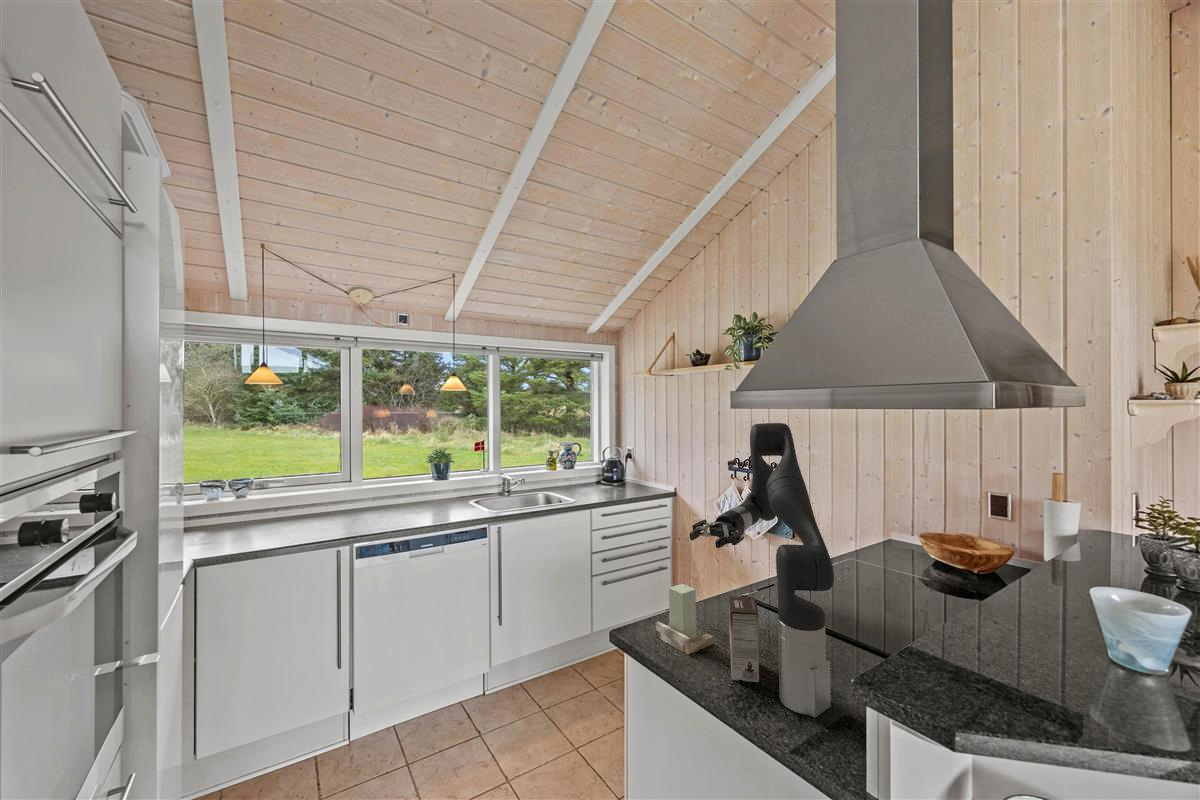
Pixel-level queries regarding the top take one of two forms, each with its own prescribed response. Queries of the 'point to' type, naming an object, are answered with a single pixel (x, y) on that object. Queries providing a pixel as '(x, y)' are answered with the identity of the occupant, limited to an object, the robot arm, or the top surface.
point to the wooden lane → (682, 639)
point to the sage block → (683, 610)
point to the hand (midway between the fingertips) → (703, 540)
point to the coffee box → (744, 638)
